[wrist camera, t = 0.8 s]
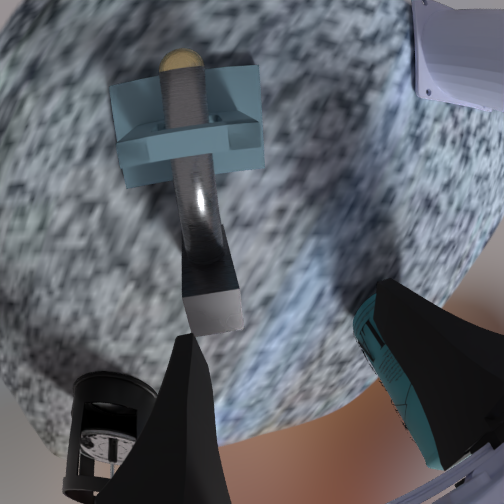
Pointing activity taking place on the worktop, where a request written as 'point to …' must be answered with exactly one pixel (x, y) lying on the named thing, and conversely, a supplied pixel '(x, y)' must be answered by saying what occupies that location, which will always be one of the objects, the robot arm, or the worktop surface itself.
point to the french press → (102, 429)
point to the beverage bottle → (396, 383)
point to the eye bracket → (189, 137)
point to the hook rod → (199, 205)
